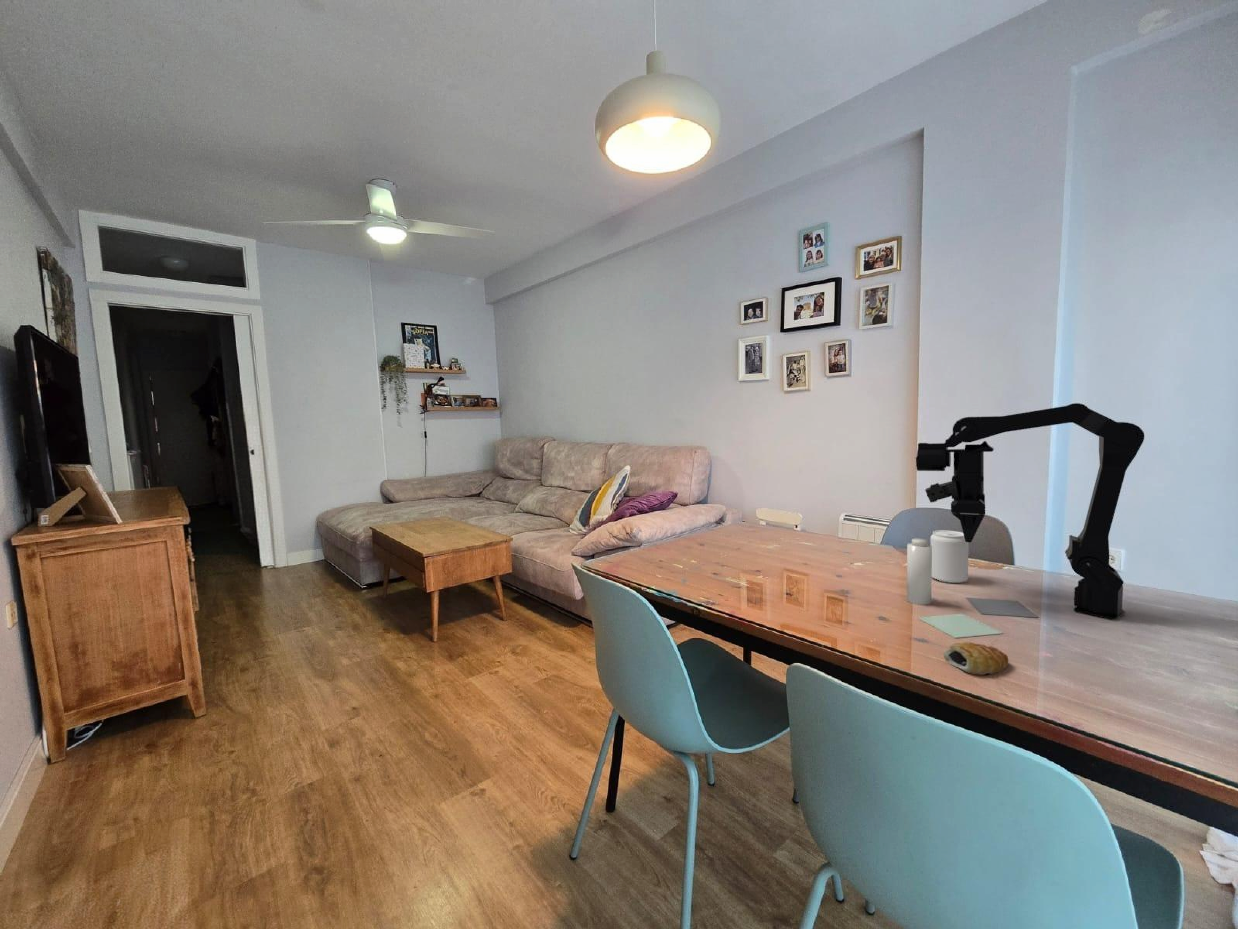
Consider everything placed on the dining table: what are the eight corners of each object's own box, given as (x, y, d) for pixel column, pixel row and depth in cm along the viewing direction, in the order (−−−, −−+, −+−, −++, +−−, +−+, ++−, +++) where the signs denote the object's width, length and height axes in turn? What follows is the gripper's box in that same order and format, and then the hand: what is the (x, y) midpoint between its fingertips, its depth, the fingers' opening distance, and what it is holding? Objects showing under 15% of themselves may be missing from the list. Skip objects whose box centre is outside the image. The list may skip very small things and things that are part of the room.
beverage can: (923, 577, 132) (923, 532, 131) (943, 572, 135) (943, 528, 134) (954, 586, 125) (955, 538, 124) (975, 581, 128) (975, 534, 127)
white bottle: (935, 601, 115) (936, 540, 114) (924, 606, 113) (924, 543, 111) (914, 596, 119) (914, 536, 118) (902, 600, 117) (903, 539, 115)
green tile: (961, 614, 107) (961, 613, 107) (1002, 633, 97) (1002, 632, 97) (918, 618, 106) (918, 617, 106) (955, 638, 96) (955, 637, 96)
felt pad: (1017, 601, 113) (1017, 600, 113) (1038, 618, 104) (1038, 617, 104) (965, 598, 116) (965, 597, 116) (981, 614, 107) (981, 613, 107)
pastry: (984, 653, 90) (985, 633, 90) (1021, 672, 84) (1022, 649, 83) (939, 660, 88) (940, 639, 88) (973, 680, 82) (974, 657, 81)
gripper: (930, 467, 129) (931, 528, 130) (924, 475, 114) (924, 543, 115) (984, 467, 123) (984, 531, 124) (985, 475, 108) (985, 548, 109)
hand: (968, 538), depth 118 cm, fingers open, 9 cm apart
